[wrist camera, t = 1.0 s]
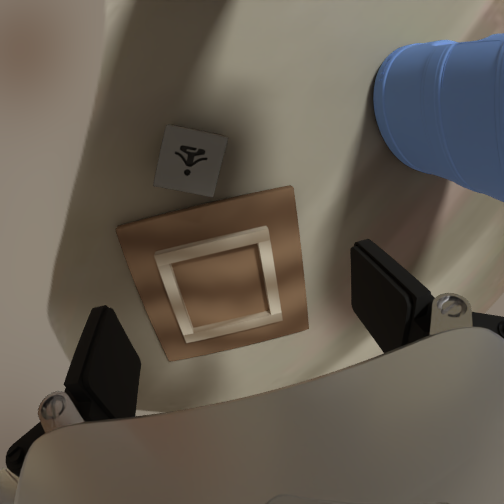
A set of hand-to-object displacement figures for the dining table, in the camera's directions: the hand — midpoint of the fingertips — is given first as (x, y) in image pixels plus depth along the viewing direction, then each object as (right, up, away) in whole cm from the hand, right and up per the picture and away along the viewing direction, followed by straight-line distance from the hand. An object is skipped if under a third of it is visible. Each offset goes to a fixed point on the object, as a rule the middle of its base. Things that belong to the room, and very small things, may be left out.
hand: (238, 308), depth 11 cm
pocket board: (-3, -1, +22) cm, 23 cm away
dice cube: (-5, +11, +17) cm, 21 cm away
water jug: (+21, +19, +18) cm, 33 cm away
